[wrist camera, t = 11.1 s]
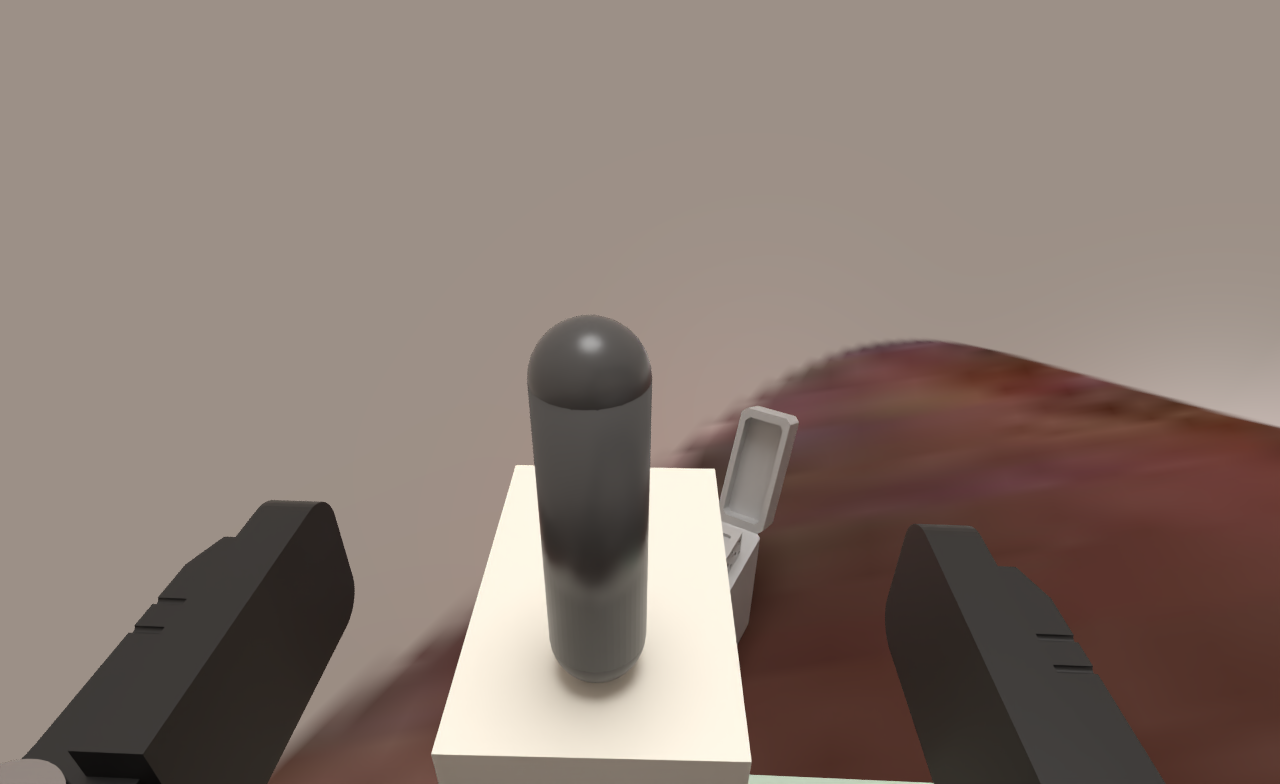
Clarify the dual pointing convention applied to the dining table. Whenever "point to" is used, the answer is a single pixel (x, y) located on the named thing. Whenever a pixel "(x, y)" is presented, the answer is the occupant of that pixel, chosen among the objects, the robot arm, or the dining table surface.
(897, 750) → the dining table surface
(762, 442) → the lighter
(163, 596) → the robot arm
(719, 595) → the cream rectangular pillar
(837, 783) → the board
